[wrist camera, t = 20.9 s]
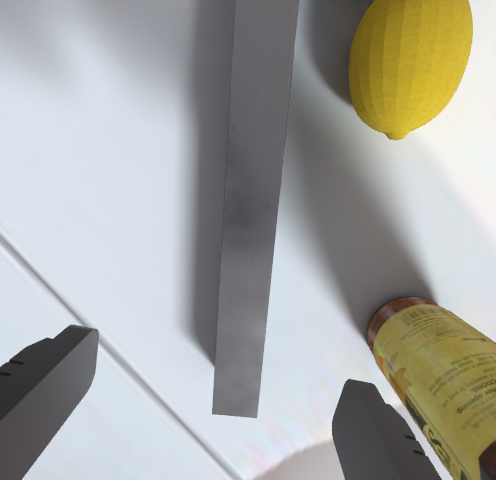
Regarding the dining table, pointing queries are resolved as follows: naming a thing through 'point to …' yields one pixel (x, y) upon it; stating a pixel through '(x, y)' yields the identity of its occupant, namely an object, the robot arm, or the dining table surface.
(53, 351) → the robot arm
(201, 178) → the dining table surface
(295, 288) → the dining table surface
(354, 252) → the dining table surface
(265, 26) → the crook tool
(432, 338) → the sauce bottle
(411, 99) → the lemon
